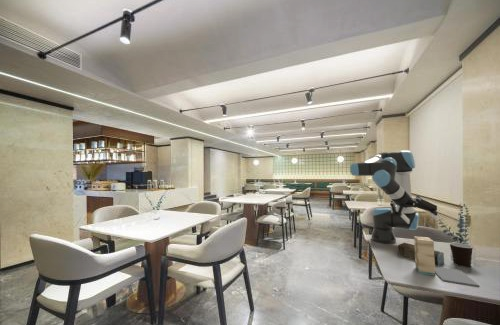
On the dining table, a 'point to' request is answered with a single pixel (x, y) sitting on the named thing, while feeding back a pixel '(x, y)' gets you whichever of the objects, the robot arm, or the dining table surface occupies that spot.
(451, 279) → the rubber mat
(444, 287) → the dining table surface
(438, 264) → the beverage carton
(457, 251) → the coffee mug
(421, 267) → the oak block
